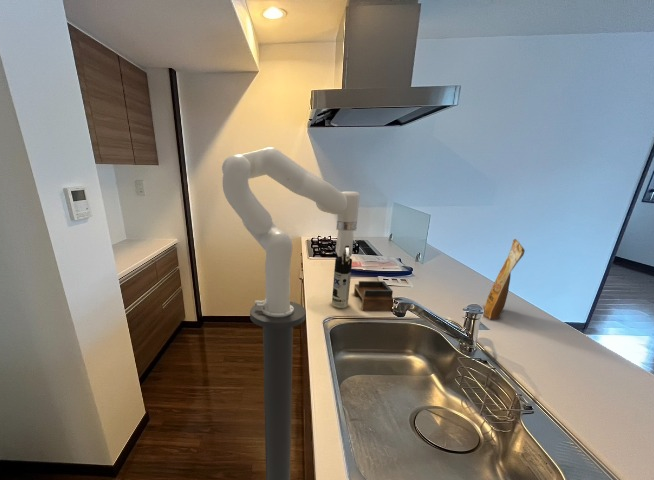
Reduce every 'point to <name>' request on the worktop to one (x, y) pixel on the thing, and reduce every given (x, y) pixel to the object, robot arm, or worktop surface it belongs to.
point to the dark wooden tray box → (374, 295)
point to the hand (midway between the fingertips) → (342, 270)
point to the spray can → (341, 285)
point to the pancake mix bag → (503, 283)
